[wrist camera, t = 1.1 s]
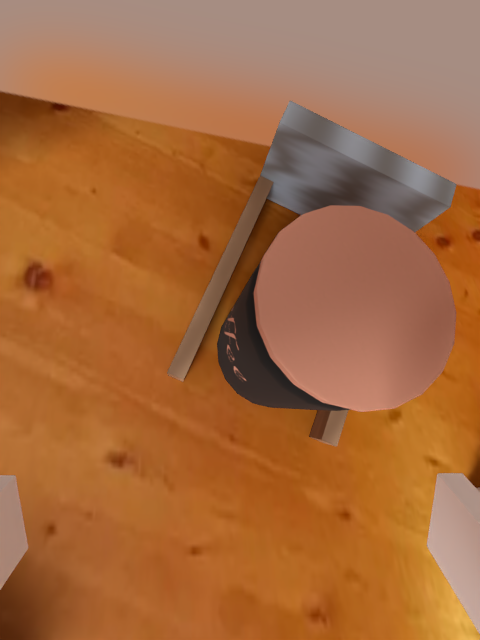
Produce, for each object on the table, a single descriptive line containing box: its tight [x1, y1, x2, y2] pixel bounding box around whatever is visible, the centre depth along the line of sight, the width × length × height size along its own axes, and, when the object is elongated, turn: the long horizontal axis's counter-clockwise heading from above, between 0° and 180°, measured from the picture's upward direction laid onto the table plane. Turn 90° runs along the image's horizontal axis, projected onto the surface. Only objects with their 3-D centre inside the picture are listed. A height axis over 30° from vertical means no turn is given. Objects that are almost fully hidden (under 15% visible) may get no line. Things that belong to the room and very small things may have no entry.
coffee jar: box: [217, 205, 456, 412], centre depth 26 cm, size 11×11×18 cm
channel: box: [167, 101, 456, 446], centre depth 31 cm, size 16×24×10 cm, turn 157°
